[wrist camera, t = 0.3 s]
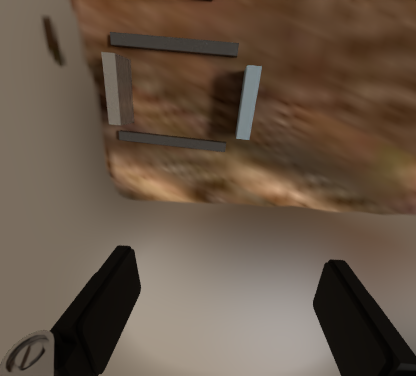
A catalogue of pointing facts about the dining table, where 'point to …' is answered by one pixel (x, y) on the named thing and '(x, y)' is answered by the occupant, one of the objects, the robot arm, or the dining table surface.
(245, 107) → the block
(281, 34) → the dining table surface
